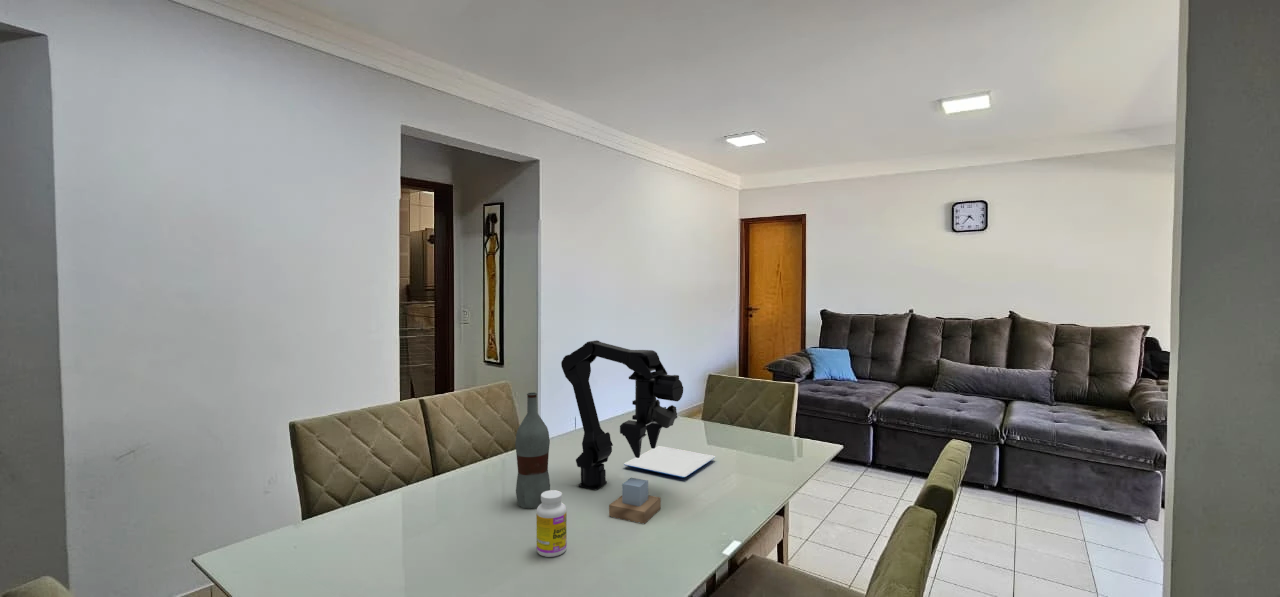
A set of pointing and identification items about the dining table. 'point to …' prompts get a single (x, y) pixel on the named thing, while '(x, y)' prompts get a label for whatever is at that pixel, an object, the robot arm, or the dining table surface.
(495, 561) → the dining table surface
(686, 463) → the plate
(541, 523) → the supplement bottle
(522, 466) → the grey bottle
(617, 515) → the base
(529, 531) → the dining table surface
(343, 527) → the dining table surface
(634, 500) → the cube
